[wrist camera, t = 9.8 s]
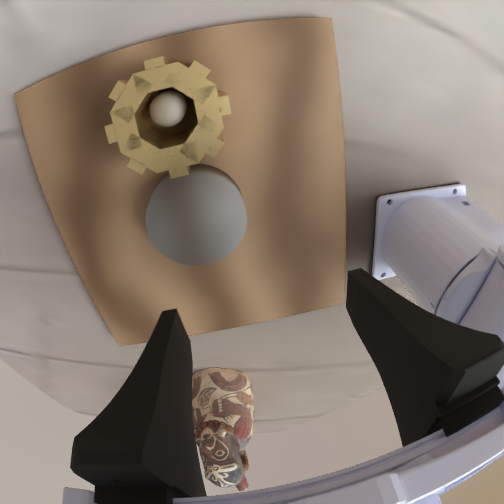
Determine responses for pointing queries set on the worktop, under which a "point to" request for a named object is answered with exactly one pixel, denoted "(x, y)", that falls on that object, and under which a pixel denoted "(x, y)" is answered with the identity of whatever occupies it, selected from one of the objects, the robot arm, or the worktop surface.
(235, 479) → the figurine
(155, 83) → the brass gear
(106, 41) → the worktop surface
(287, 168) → the carrier plate
